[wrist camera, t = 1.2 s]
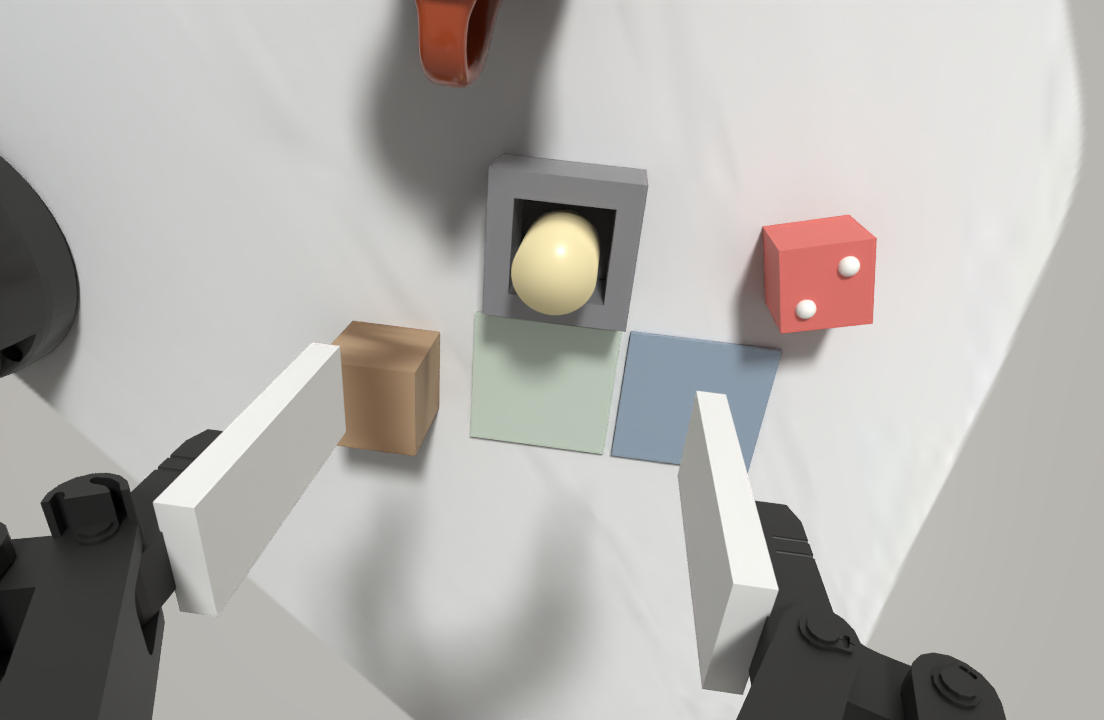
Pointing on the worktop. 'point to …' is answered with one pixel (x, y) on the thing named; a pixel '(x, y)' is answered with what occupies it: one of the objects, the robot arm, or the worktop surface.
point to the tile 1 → (542, 382)
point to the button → (557, 263)
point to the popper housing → (567, 186)
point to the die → (819, 273)
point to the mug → (455, 39)
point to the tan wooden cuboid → (388, 386)
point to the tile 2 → (688, 392)
